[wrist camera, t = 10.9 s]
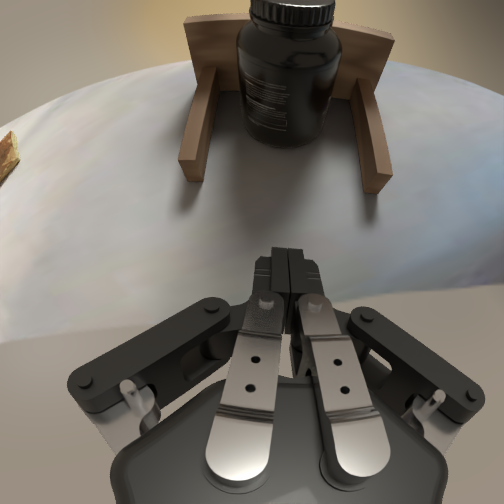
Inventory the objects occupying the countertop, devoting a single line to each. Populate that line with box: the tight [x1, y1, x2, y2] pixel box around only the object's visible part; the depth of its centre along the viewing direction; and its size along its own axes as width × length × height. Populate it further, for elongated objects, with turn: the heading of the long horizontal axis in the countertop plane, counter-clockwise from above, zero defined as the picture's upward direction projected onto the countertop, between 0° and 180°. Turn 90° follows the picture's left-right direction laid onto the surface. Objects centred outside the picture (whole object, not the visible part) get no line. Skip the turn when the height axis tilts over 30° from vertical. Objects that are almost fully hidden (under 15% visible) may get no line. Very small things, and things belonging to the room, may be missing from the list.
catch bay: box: [178, 13, 395, 194], centre depth 18 cm, size 16×11×8 cm
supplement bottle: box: [236, 0, 342, 148], centre depth 16 cm, size 7×7×12 cm
